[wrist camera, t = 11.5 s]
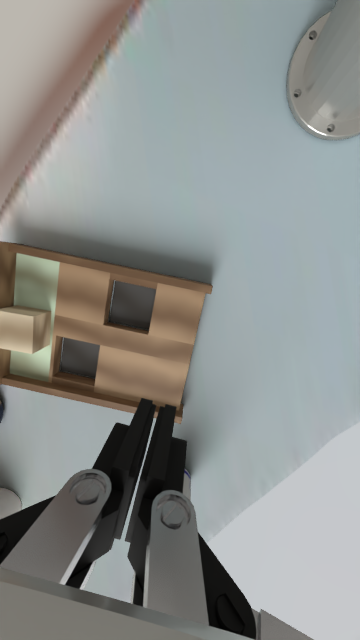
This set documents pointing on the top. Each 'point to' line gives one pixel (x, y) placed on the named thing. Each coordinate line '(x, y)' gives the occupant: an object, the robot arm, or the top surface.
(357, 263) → the top surface
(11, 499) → the white container
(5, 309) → the beech block
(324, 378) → the top surface
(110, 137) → the top surface
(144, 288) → the box
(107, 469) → the robot arm
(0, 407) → the canister
